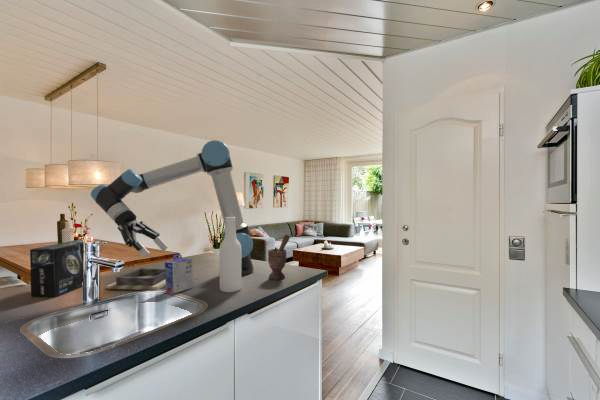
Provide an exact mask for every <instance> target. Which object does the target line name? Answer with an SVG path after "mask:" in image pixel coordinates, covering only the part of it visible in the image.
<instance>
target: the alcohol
mask: <svg viewBox="0 0 600 400" xmlns="http://www.w3.org/2000/svg"><path fill="white" fill-rule="evenodd" d="M225 221H226V226H225V225H224V229H225V238H224V237H223V238H224V239H223V240H222V241H221V243H220V244H219V249H218V250H219V251H218V252H219V290H220V291H221V292H223V293H235V292H238V291H240V290H241V288H242V275H241V244H240V242H239V241H238V240H237V238H236V228H235V217H226V220H225Z"/></svg>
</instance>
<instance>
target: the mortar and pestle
mask: <svg viewBox="0 0 600 400" xmlns="http://www.w3.org/2000/svg"><path fill="white" fill-rule="evenodd" d="M289 240H290V235H288V234H284V236H283V237H282V240H281V244H280V246H279V248H272V249H271V248H270V249H268V250H267V261H268V265H269V268H270V269H271V273H270V274H269V276H268V279H269V280H275V281H277V280H278V281H279V280H283V279H285V278H286V277H285V274H284V273H283V269H284V268H285V266H286V262H287V250H286V249H285V248H286V245H287V244H288V243H289Z"/></svg>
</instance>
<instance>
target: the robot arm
mask: <svg viewBox="0 0 600 400" xmlns="http://www.w3.org/2000/svg"><path fill="white" fill-rule="evenodd" d="M233 168H234V167H233V163H232V159H231V156H230V149H229V147H228V146H227V144H225V143H224V141H223V142H222V141H221V140H217V139H213V140H210V141H208V142H206V143H205V144H203V147H202V149H201V152H199V153H196V156H194V157H191V158H186V159H184V160H181V161H177V162H174V163H171V164H169V165H165V166H162V167H160V168H159V167H158V168H156V169H152V170H150V171H146V172H143V173H140V174H139V173H138V172H136V171H134V169H132V168H129V169H127V170H125V171H124V172H121V174H120V175H118V177H116V179H114V180H113V181H112V182H111V183H110V184H108V185H107V184H104V183H103V184H99V185H98V186H95V187H94V188H93V189H92V190H91V192H90V196H91V198H92V199H93V201H94V202H95V204H97V205H98V206H99V207H100V208H101V209H102V210H103V211H104V212H105V213H106V214H107V216H109V218H110V219H111V220H112V221H114V223H115V224H116V226H117V229H118V231H119V232H120V234H121V237H122V239H123V242H124V244H125V245H126V246H128V247H129V248H132V247H133V248H134V249H135V250H136V251H137V252H138V253H139V255H141V257H143V258H144V259H145V258H146V257H147V256H148V255H149V254H150V251H149V250H148V249H147V248H146V247H145V246H144V245H143V244H142V243H141V242H140V240H138V239H137V235H136V234H141V235H144V236H145V237H148V238H150V239H151V240H152V241H153V242H154V244H155V245H156V246H158V248H159V249H160V250H161V251H163V252H165V251H166V250H167V249H168V248H169V246H168V245H167V243H165V242H164V241H163V240H162V238H160V236H161V233H160V232H158V231H157V230H156V229H154V228H153V227H151V226H150V225H148V224H147V223H145V222H144V221H143V220H140V221H137V215H136V214H135V213H134V212H133V211H132V210H131V209H130V207H128V206H127V205H126V204H125V202H123V199H124V198H125V197H126V196H128V195H129V194H130V193H134V194H138V193H142V192H144V191H146V190H148V189H151V188H154V187H155V188H156V187H158V186H160V185H165V184H167V183H170V182H173V181H176V180H179V179H182V178H185V177H188V176H191V175H195V174H198V173H200V172H203V173H207V175H208V176H210V177H211V180H212V182H213V186H214V190H215V195H216V198H217V202H218V206H219V209H220V213H221V217H222V220H223V225H224V227H225V226H226V221H225V220H226V217H235V228H236V238H237V240H238V241H239V242H240V244H241V276H245V275H250V274H252V273H253V272H254V265H253V262H252V259H251V252H252V250H253V248H254V240H253V239H252V236H251V228H250V227H249V225H248V224H247V223H245V222H244V218H243V215H242V211H241V207H240V205H239V200H238V196H237V192H236V188H235V184H234V180H233V177H232V170H233ZM222 233H223V238H225V228H224V229H223V231H222Z"/></svg>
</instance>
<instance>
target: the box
mask: <svg viewBox="0 0 600 400" xmlns="http://www.w3.org/2000/svg"><path fill="white" fill-rule="evenodd" d="M83 240H84V239H75V240H71V241H65V242H61V243H56V244H52V245H51V244H50V245H46V246H40V247H39V246H38V247H36V248H30V249H29V258H30V259H29V260H30V262H29V263H30V264H29V265H30V267H29V268H30V297H31V298H59V297H60V296H63V295H65V294H67V293H70V292H73V291H74V290H77V289H80V288H82V282H83Z"/></svg>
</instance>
